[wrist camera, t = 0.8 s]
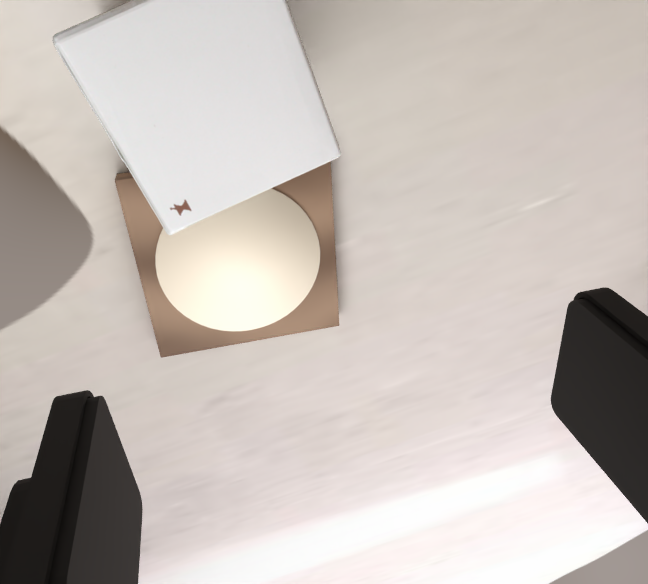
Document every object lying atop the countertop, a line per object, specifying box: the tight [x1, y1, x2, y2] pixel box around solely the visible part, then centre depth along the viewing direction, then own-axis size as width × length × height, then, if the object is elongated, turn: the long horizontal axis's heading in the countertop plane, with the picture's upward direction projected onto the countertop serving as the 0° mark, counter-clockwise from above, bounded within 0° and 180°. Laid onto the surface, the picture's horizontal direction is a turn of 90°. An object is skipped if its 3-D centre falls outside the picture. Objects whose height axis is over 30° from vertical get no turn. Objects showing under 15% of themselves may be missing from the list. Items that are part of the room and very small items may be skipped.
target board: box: [115, 162, 339, 357], centre depth 34 cm, size 12×12×1 cm
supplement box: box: [53, 0, 341, 235], centre depth 24 cm, size 7×7×13 cm
